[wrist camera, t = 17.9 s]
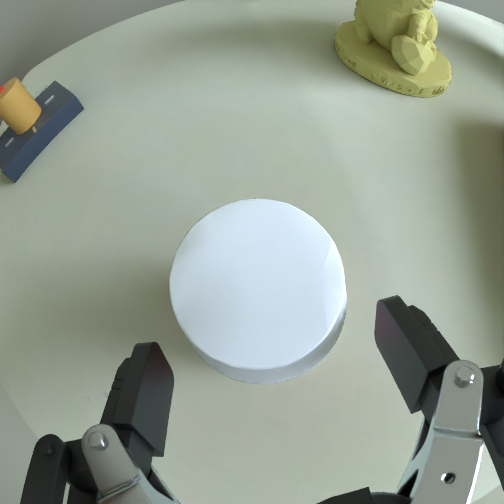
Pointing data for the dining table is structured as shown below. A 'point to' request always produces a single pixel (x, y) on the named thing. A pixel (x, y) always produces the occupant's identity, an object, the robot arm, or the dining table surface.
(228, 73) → the dining table surface
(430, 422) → the robot arm
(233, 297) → the pill bottle
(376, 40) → the figurine
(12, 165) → the dial base block
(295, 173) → the dining table surface
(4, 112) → the tan cylinder
